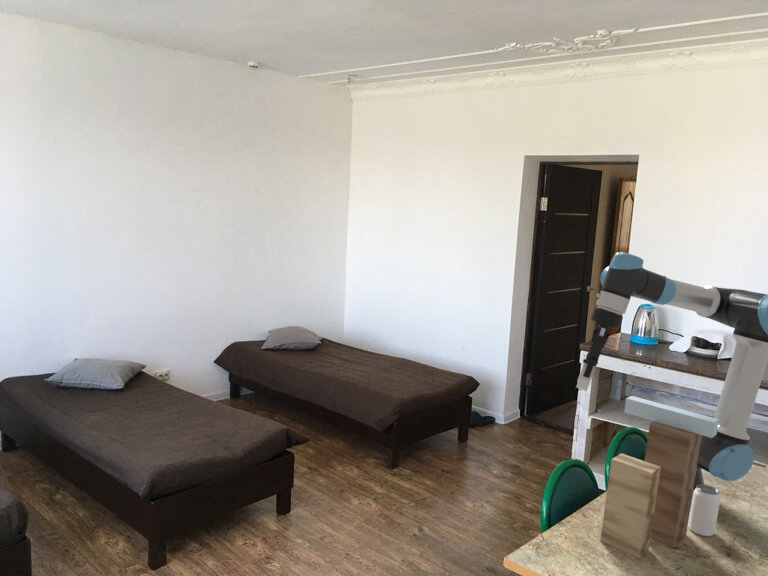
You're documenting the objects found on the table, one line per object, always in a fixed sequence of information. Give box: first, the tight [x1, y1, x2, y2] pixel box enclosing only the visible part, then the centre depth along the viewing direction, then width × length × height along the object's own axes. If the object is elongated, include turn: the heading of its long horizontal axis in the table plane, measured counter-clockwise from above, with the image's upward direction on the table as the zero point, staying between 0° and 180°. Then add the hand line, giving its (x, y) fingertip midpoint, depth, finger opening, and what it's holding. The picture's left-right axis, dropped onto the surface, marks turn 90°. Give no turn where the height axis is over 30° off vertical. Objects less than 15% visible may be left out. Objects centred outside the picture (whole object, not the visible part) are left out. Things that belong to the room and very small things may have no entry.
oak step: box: [600, 453, 661, 559], centre depth 156 cm, size 6×10×22 cm, turn 47°
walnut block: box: [644, 421, 702, 549], centre depth 163 cm, size 10×10×30 cm
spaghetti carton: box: [623, 395, 719, 438], centre depth 162 cm, size 22×4×4 cm, turn 47°
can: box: [687, 484, 721, 538], centre depth 168 cm, size 6×6×12 cm
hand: (581, 386), depth 164 cm, fingers open, 13 cm apart
